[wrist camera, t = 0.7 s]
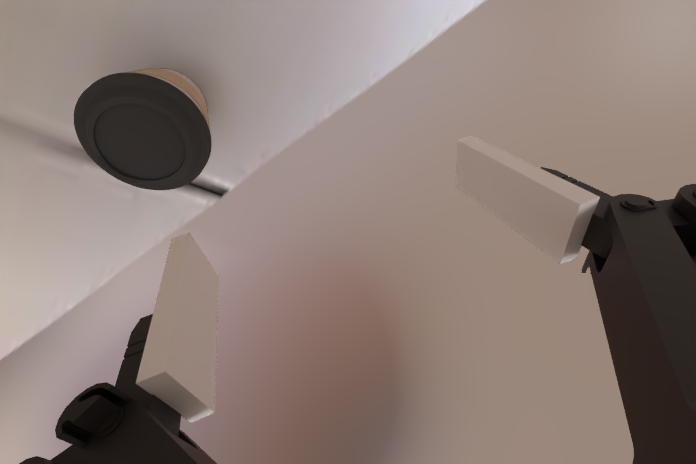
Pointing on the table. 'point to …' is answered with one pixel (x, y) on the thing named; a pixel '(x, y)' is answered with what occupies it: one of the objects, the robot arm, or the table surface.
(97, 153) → the coffee cup
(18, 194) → the table surface
